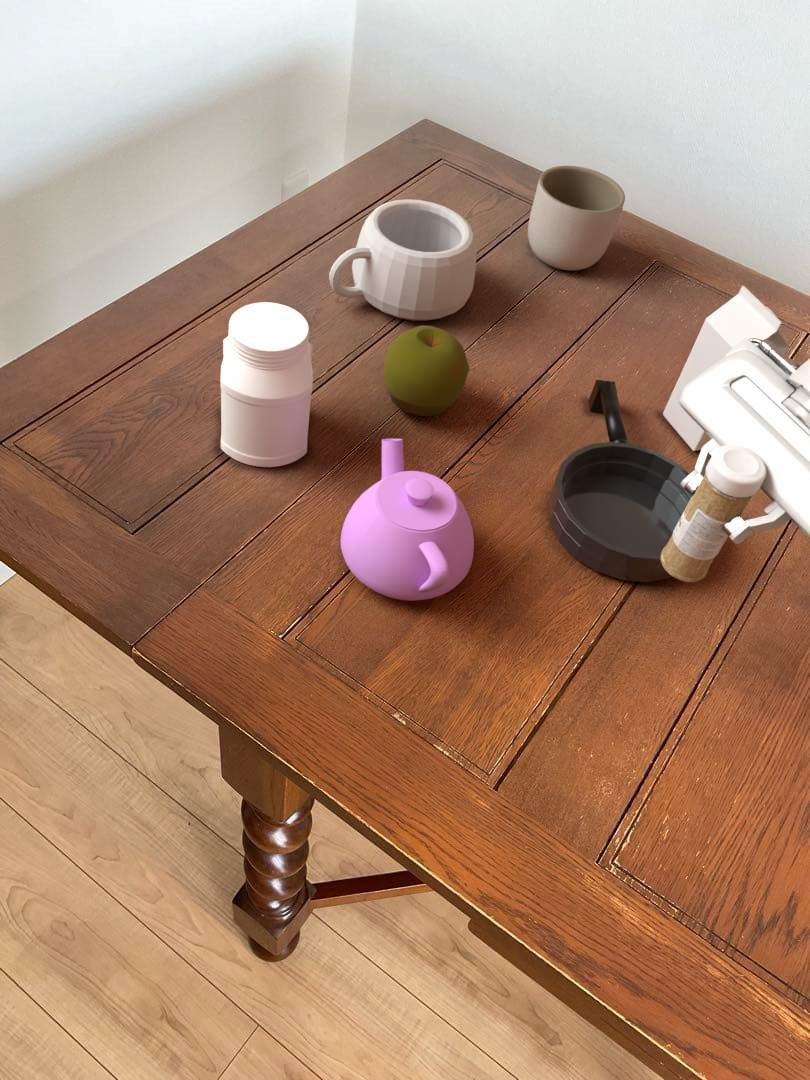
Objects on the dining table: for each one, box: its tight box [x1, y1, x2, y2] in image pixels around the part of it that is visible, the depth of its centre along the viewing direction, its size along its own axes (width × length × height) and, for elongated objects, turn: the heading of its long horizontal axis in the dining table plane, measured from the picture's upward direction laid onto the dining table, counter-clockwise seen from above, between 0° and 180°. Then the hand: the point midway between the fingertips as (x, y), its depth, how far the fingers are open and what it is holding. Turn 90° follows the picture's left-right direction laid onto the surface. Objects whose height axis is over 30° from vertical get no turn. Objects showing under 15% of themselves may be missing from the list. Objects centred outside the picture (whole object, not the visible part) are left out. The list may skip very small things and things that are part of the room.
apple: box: [383, 325, 470, 417], centre depth 114 cm, size 10×10×11 cm
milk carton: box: [662, 285, 790, 452], centre depth 116 cm, size 7×7×19 cm
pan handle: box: [588, 379, 629, 444], centre depth 117 cm, size 2×13×5 cm, turn 0°
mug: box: [328, 198, 477, 322], centre depth 129 cm, size 21×17×10 cm
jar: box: [219, 301, 314, 468], centre depth 105 cm, size 12×10×15 cm
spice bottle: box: [661, 445, 766, 583], centre depth 84 cm, size 5×5×14 cm
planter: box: [527, 165, 626, 271], centre depth 141 cm, size 12×12×11 cm
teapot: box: [340, 438, 475, 602], centre depth 98 cm, size 14×20×11 cm
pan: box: [546, 441, 692, 583], centre depth 108 cm, size 17×17×4 cm
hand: (707, 514), depth 83 cm, fingers closed on spice bottle, 4 cm apart
